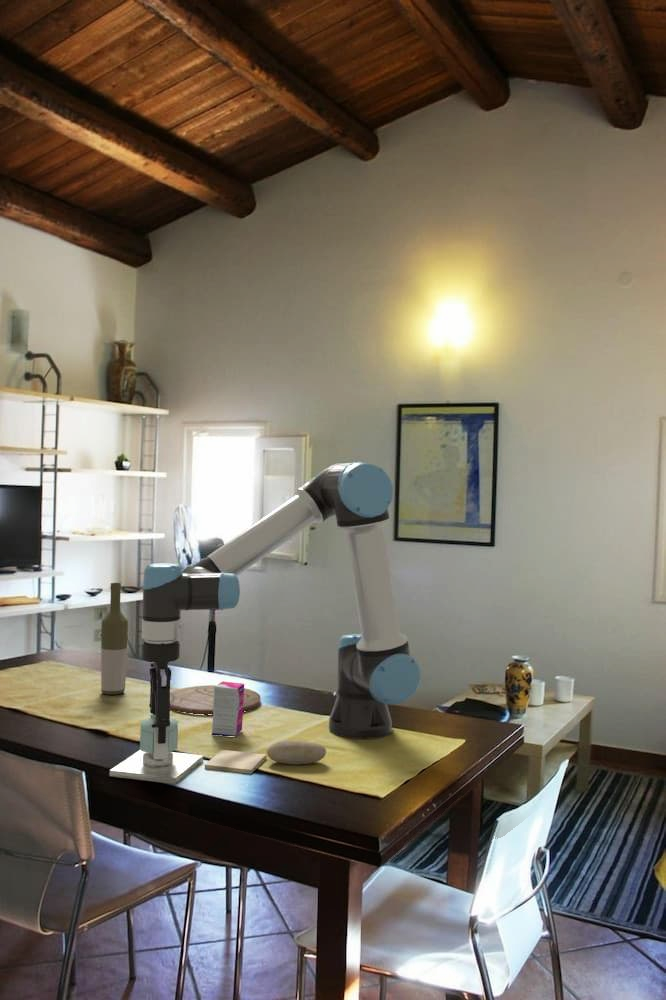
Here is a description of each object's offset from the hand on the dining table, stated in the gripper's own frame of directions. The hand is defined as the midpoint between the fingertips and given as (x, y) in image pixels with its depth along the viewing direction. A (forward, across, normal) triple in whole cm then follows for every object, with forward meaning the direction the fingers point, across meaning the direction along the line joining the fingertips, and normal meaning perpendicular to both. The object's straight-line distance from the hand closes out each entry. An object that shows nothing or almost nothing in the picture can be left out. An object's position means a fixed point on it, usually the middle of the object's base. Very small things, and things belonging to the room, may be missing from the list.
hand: (158, 751), depth 171 cm
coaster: (+4, 0, -16) cm, 16 cm away
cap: (-1, 0, 0) cm, 1 cm away
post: (+3, 0, 0) cm, 3 cm away
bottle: (+4, +63, +6) cm, 63 cm away
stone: (+4, -3, -28) cm, 29 cm away
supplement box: (+4, +21, -18) cm, 28 cm away
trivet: (+4, +48, -19) cm, 52 cm away
